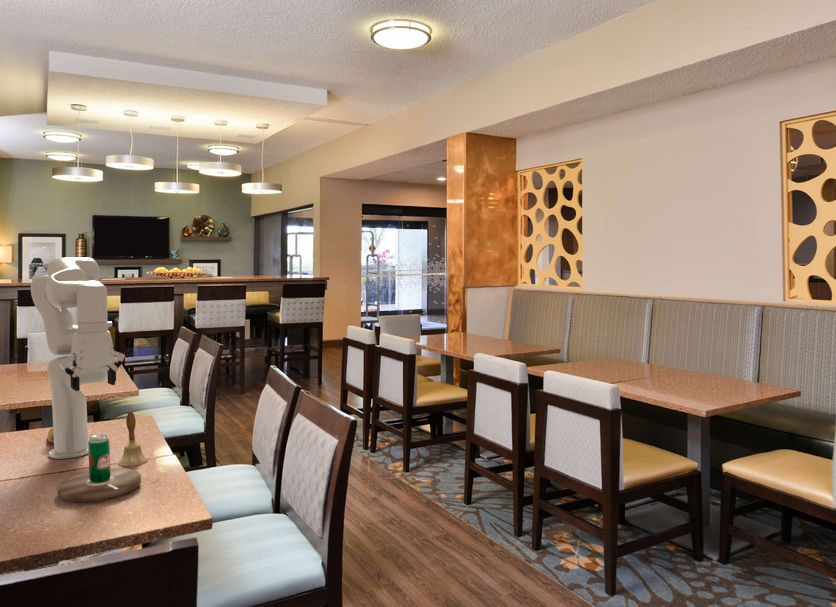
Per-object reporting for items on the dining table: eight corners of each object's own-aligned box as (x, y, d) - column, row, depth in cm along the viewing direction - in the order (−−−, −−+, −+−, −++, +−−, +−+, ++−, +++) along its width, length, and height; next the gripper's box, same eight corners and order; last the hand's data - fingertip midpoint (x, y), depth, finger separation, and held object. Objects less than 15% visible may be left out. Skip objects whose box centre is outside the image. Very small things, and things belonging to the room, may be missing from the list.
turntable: (44, 488, 161) (44, 483, 161) (119, 468, 177) (119, 463, 177) (77, 507, 149) (77, 501, 149) (155, 484, 165) (154, 478, 165)
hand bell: (136, 467, 181) (134, 415, 180) (111, 465, 183) (110, 413, 182) (153, 458, 190) (151, 408, 188) (130, 456, 191) (128, 407, 190)
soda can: (100, 484, 160) (98, 440, 159) (85, 482, 161) (83, 438, 161) (114, 478, 165) (113, 435, 164) (100, 476, 166) (98, 433, 165)
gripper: (117, 323, 178) (118, 380, 180) (53, 329, 165) (55, 390, 166) (129, 326, 173) (130, 384, 175) (65, 332, 160) (66, 395, 162)
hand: (94, 387), depth 171 cm, fingers open, 9 cm apart
